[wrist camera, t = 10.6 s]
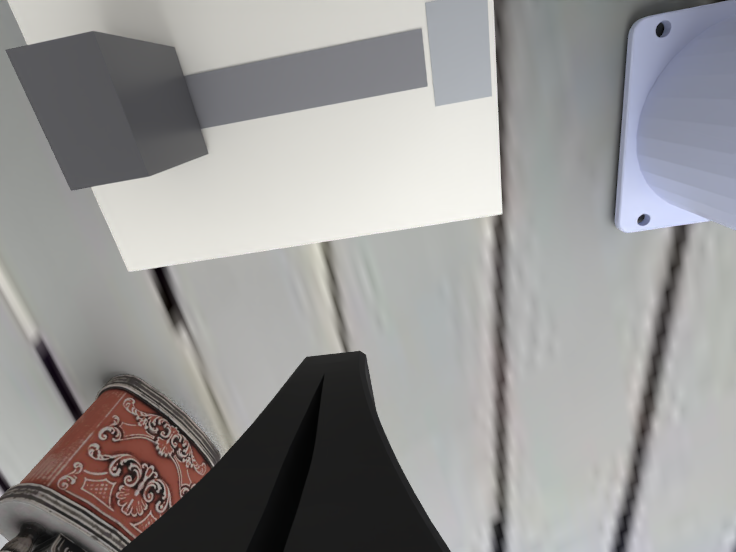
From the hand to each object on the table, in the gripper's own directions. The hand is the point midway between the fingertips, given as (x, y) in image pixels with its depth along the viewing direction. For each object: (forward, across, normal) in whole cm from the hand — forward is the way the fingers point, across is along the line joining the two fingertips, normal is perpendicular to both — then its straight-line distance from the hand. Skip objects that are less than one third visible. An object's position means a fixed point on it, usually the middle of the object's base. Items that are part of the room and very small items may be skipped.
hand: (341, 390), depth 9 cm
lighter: (+10, +13, +10) cm, 19 cm away
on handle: (+9, +6, -6) cm, 13 cm away
